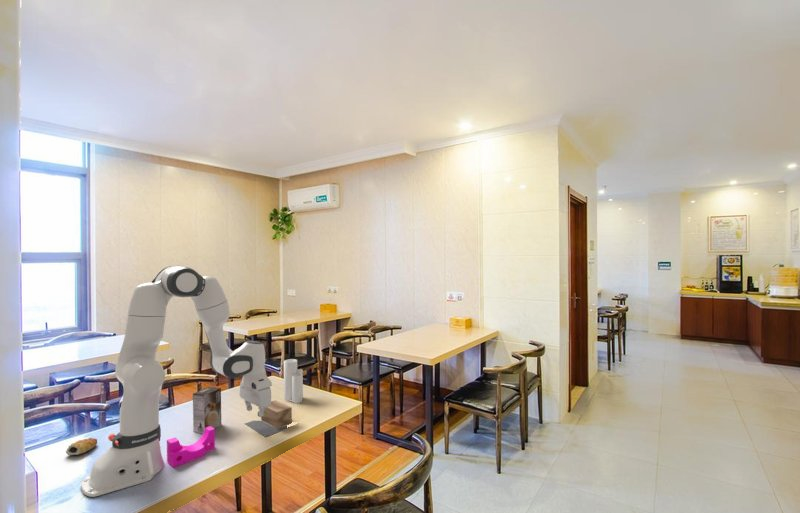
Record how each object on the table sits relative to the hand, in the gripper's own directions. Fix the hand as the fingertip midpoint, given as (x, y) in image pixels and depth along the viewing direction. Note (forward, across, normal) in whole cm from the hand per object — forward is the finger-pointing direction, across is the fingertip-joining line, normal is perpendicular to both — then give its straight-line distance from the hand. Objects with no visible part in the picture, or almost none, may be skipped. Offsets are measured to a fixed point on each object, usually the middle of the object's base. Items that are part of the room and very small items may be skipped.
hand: (254, 413), depth 159 cm
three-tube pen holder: (+8, -16, +29) cm, 34 cm away
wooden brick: (+7, 0, +10) cm, 12 cm away
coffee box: (+7, -17, -12) cm, 22 cm away
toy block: (+8, +2, -25) cm, 26 cm away
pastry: (+8, -32, -48) cm, 58 cm away
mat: (+7, 0, +15) cm, 16 cm away
